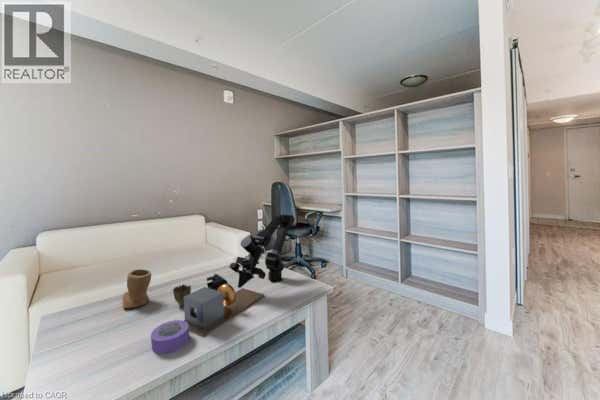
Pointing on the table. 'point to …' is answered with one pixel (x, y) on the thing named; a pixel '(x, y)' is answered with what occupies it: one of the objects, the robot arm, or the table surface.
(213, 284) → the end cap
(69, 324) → the table surface
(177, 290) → the cup
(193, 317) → the housing
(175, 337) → the tape roll
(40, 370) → the table surface
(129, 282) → the brown boot
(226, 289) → the gold rounded piece
